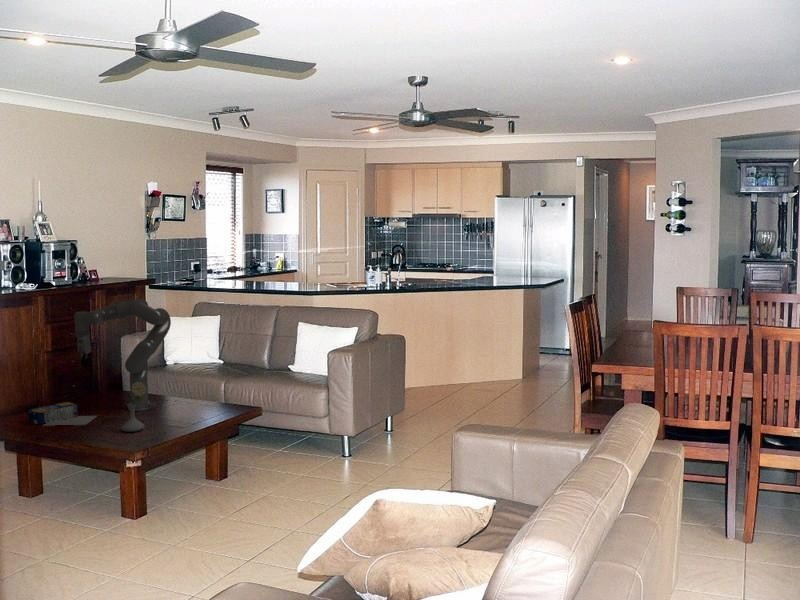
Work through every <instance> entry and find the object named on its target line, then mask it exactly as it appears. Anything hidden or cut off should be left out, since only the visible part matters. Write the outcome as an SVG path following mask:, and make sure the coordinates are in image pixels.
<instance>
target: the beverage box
mask: <svg viewBox="0 0 800 600" xmlns="http://www.w3.org/2000/svg"><path fill="white" fill-rule="evenodd" d="M27 415H28V422H29V423H30V422H32V423H31V424H33V423H35V424H34V425H36V424H41V425H44V424H43V423H48V422H53V421H58V420H64V419H69V418H74V417H78V416H79V414H78V404H76V403H74V402H70V401H65V402H60V403H54V404H49V405H45V406H44V405H43V406H39V407H35V408H29V409H27Z"/></svg>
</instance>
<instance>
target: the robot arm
mask: <svg viewBox="0 0 800 600" xmlns="http://www.w3.org/2000/svg"><path fill="white" fill-rule="evenodd" d="M134 316H135V317H136V318H138V319H140V320H143V321H144V322H145V323H148V324H150V325H153V327H152V328H151V329H150V330H149V333H148V334H147V335H146V337H145V338H144V339H143V340H141V341H140V342H138V343H137V345H136V346H135V347H134V348H133V350H132V351H131V353H130V354H129V356H128V357H127V358H126V360H125V363H124V368H125V370H126V371H127V372H128V373H129V391H130V392H129V395H130V399H132V400H133V401H134V400H135V401H134V403H137V405H136V406H135V411H134V412H145V411H149V410H151V409H152V407H155V406H157V403H156V402H154V401H153V402H151V400H150V399H149V386H148V380H149V379H148V366H149V364H148V363H149V362H148V360H149V359H150V357H152V355H154V354H155V352H156V351H157V349H158V348H159V347H160V345H161V344H162V342H163V340H164V339H165V338H166V336H167V334H168V333H169V331H170V329H171V325H172V323H171V321H172V320H171V316H170V314H169V312H168V311H167V310H166V309H165V308H161V307H157V308H153V307H152V306H149V304H148V302H147V301H146V300H145V299H144V298H137V299H133V300H130V301H125V302H120V303H117V304H114V305H111V306H107V307H104V308H103V307H102V308H100V309H96V310H95V309H94V310H92V311H85V310H84V311H83V310H82V311H76V312H74V314H73V319H74V330H75V331H74V333H75V337H76V346H77V354H79V356H80V360H81V366H82V367H87V366H89V353H91V352H92V345H91V338H90V336H91V332H90V330H91V329H90V325H98V324H100V323H103V322H108V321H110V320H111V321H112V320H117V319H119V320H121V319H127V318H129V317H134ZM136 382H140V383H143V385H145V387H146V393H145V394H144V395H142V397H143V398H144V400H141V401H138V400H137V399H135V398H137V397H138V396H137V397H136V395H134V394H133V392H132V391H131V388H132V384H134V383H136ZM133 401H130V403H133ZM148 409H149V410H148ZM127 410H128V411H129V407H128V408H127Z"/></svg>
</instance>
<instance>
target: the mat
mask: <svg viewBox="0 0 800 600" xmlns="http://www.w3.org/2000/svg"><path fill="white" fill-rule="evenodd" d="M97 417H98V415H78V417H74V418H69V419H66V420H65V419H64V420H58V421H53V422H48V423H46V424H41V425H42V427H56V426H55V425H74V426H86V425H87V424H89V423H90V422H92V421H93V420H94V419H95V418H97Z"/></svg>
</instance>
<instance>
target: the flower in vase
mask: <svg viewBox="0 0 800 600" xmlns="http://www.w3.org/2000/svg"><path fill="white" fill-rule="evenodd" d="M131 391H132V392H133V394H134V395H136V397H137V396H138V397H137V398H135V399H137V400H138V401H141V400H144V398H143V397H142V395H144V394H145V393H146V387H145V385H143V383H140V382H136V383H134V384H132V388H131ZM126 400H127V401H129V403H126V406H127V407H128V408H129V410H128V411H129V418H128V420H127V421H125V422H124V423H123V424H122V425H121V427H120V430H121V431H123V432H128V433H129V432H130V433H131V432H138V431H141V430H143V429H144V428H145V424H144V423H142V422H141V421H139V420H138V419H137V418H136V416H135V412H136V411H135V406H136V405H137V403H134V401H135V400H134V401H133V400H132V399H131V398H129V397H126ZM131 401H133V403H131Z"/></svg>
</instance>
